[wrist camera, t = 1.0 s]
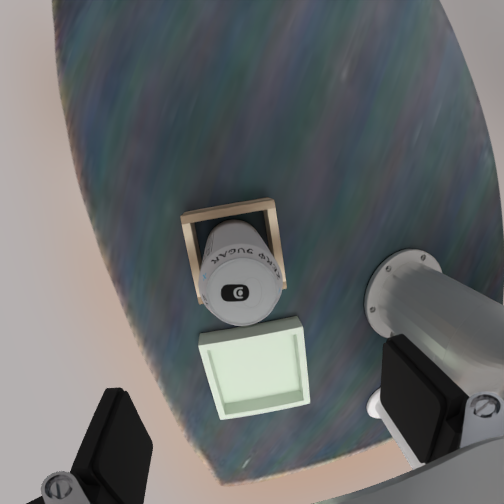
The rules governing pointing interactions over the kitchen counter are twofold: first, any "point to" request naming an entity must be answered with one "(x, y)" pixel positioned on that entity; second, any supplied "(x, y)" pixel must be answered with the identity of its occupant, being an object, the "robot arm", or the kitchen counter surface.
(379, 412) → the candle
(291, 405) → the tray
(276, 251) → the wooden square frame
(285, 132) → the kitchen counter surface
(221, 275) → the energy drink can
